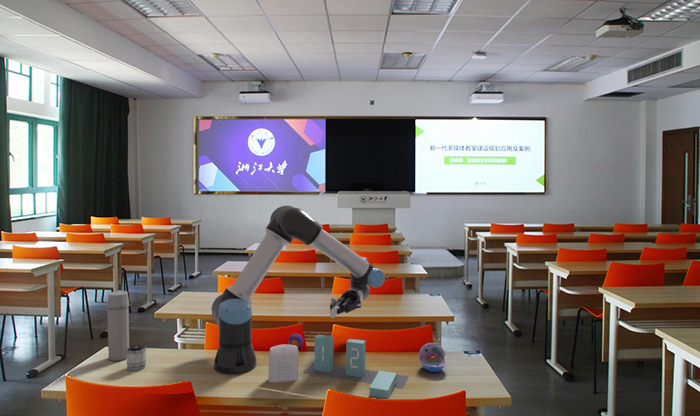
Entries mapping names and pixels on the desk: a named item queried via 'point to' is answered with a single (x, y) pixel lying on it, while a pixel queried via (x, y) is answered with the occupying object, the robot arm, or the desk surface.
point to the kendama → (295, 340)
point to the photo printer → (283, 363)
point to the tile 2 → (355, 358)
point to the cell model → (432, 357)
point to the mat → (341, 374)
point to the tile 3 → (383, 384)
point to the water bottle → (118, 325)
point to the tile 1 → (323, 353)
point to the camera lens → (136, 357)
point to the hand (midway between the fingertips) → (332, 314)
